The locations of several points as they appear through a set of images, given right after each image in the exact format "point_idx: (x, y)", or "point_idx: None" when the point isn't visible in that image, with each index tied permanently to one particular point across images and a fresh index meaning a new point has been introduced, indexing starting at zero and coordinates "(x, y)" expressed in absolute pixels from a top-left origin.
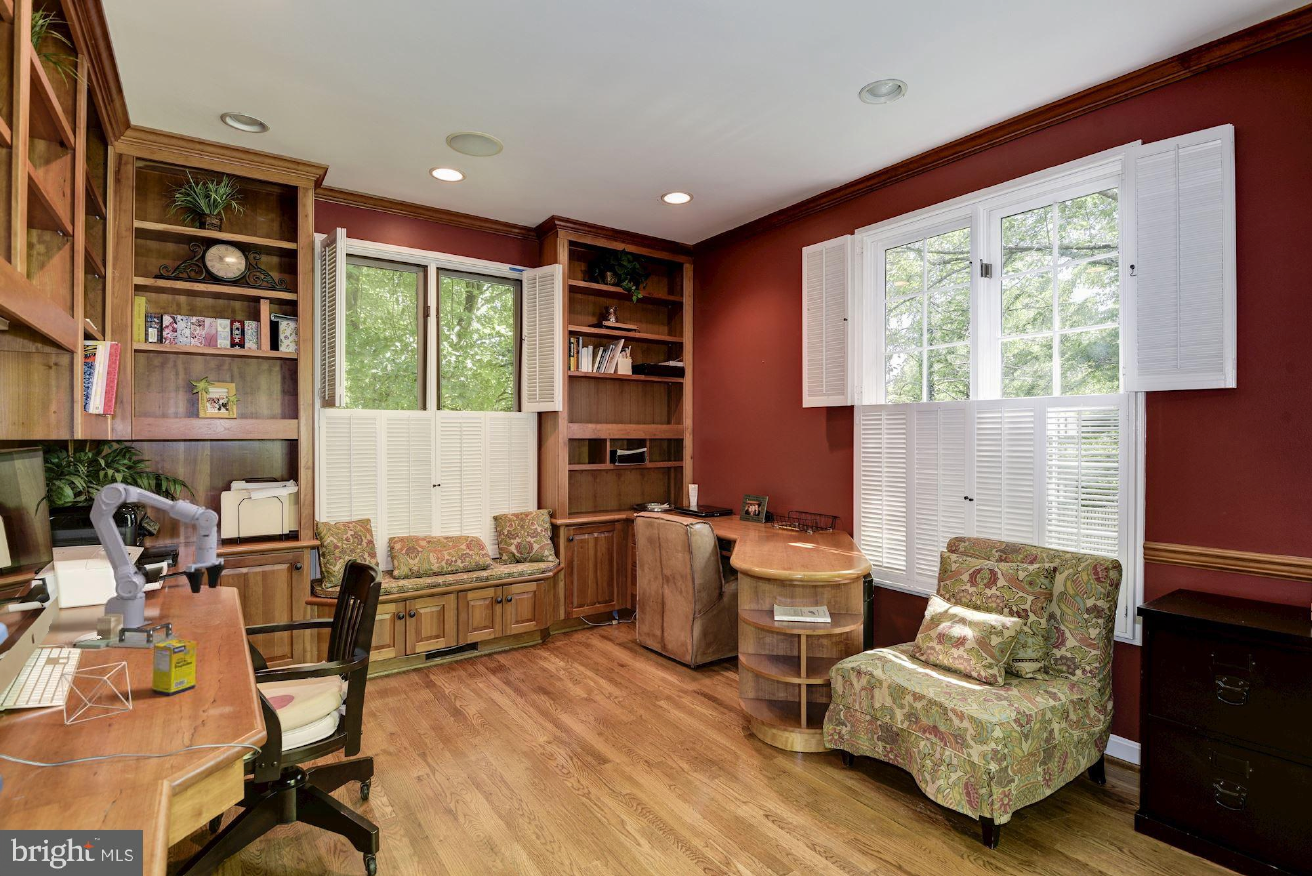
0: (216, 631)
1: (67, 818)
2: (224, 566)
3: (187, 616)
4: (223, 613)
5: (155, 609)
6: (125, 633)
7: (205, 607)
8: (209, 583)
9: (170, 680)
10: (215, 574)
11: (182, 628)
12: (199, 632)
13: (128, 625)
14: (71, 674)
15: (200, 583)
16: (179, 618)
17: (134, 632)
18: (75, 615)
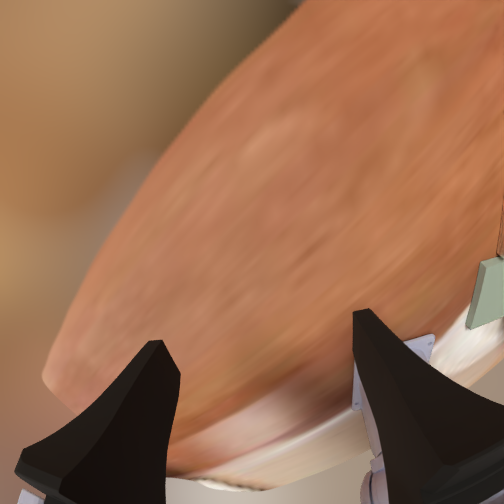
0: (404, 22)
1: None
2: (23, 468)
3: (235, 335)
4: (133, 254)
5: (212, 434)
6: (502, 284)
7: (121, 365)
8: (172, 399)
9: None
10: (126, 442)
11: (406, 200)
12: (438, 81)
13: (424, 354)
14: None
15: (398, 362)
16: (270, 335)
17: (496, 273)
18: (311, 471)
